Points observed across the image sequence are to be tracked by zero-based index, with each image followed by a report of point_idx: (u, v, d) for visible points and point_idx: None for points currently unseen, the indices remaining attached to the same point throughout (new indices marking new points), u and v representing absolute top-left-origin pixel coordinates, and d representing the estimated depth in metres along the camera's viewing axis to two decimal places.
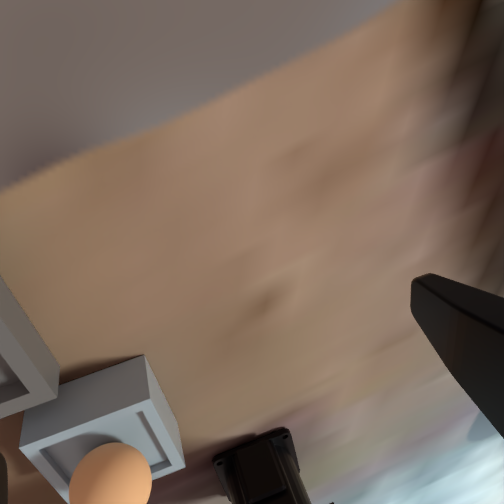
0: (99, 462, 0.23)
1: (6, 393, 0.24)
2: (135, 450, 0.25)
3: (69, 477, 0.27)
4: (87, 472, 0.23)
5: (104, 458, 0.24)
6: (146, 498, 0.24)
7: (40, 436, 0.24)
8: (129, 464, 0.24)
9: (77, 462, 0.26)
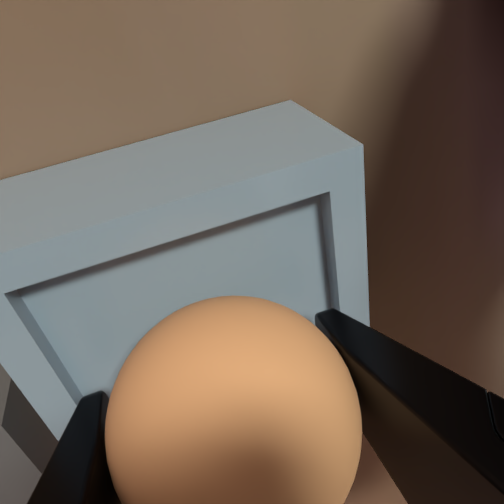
0: None
1: None
2: (147, 335, 0.07)
3: None
4: None
5: None
6: (265, 406, 0.06)
7: None
8: (120, 410, 0.07)
9: None
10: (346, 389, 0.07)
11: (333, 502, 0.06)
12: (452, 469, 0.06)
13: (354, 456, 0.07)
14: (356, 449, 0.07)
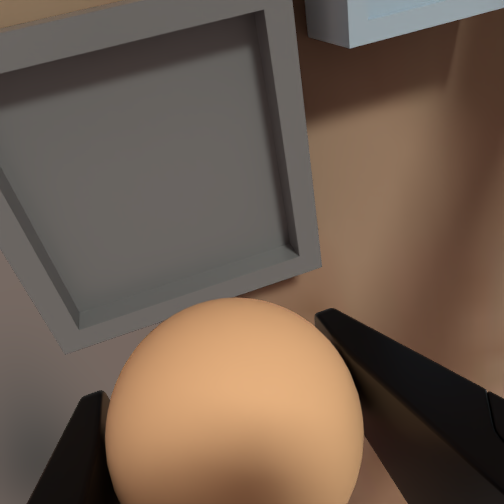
0: None
1: (264, 50, 0.16)
2: (147, 338, 0.07)
3: None
4: None
5: None
6: (266, 409, 0.06)
7: (344, 10, 0.14)
8: (121, 412, 0.07)
9: None
10: (348, 392, 0.07)
11: None
12: (452, 469, 0.06)
13: (356, 459, 0.07)
14: (358, 452, 0.07)
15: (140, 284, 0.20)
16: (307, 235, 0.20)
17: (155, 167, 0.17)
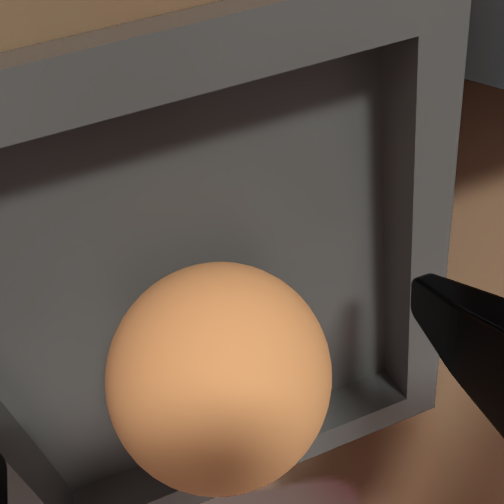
0: None
1: (398, 104, 0.09)
2: (141, 295, 0.08)
3: None
4: None
5: None
6: (242, 346, 0.07)
7: None
8: (118, 355, 0.08)
9: None
10: (316, 338, 0.08)
11: (303, 432, 0.07)
12: None
13: (322, 395, 0.08)
14: (325, 390, 0.08)
15: None
16: (422, 372, 0.13)
17: None
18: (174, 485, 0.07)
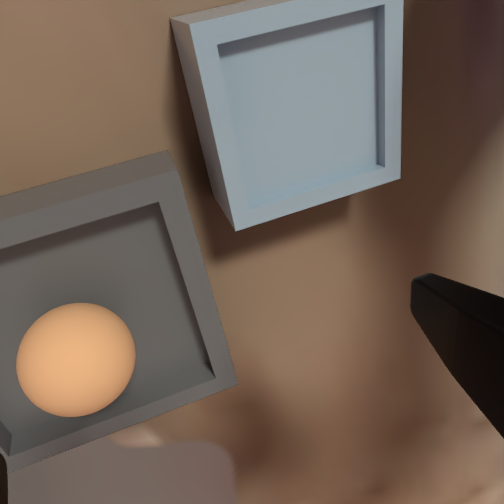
0: None
1: (165, 224, 0.18)
2: (35, 321, 0.17)
3: (334, 175, 0.18)
4: None
5: None
6: (73, 343, 0.16)
7: (228, 203, 0.17)
8: (20, 350, 0.16)
9: (309, 161, 0.17)
10: (117, 339, 0.17)
11: (106, 382, 0.16)
12: None
13: (118, 366, 0.17)
14: (120, 363, 0.17)
15: None
16: (221, 362, 0.22)
17: None
18: (46, 409, 0.16)
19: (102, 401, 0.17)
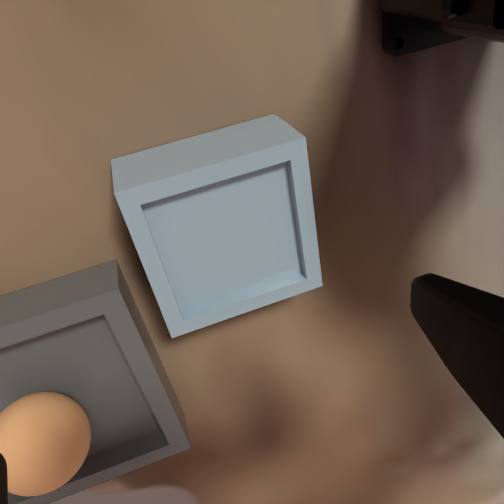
0: None
1: None
2: (1, 412, 0.20)
3: (262, 285, 0.20)
4: None
5: None
6: (31, 438, 0.18)
7: None
8: None
9: (236, 277, 0.19)
10: (71, 429, 0.19)
11: (61, 469, 0.19)
12: None
13: (72, 453, 0.19)
14: (74, 450, 0.19)
15: None
16: (172, 431, 0.24)
17: None
18: (10, 492, 0.19)
19: (58, 483, 0.19)
